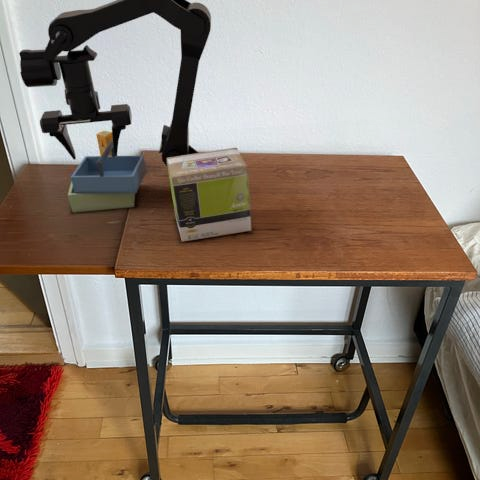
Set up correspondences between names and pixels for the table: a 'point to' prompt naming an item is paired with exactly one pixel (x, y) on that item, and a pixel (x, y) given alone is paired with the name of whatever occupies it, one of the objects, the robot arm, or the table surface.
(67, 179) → the table surface
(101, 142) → the supplement box
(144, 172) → the blue basket
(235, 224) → the tea box
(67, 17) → the robot arm
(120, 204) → the sage basket
